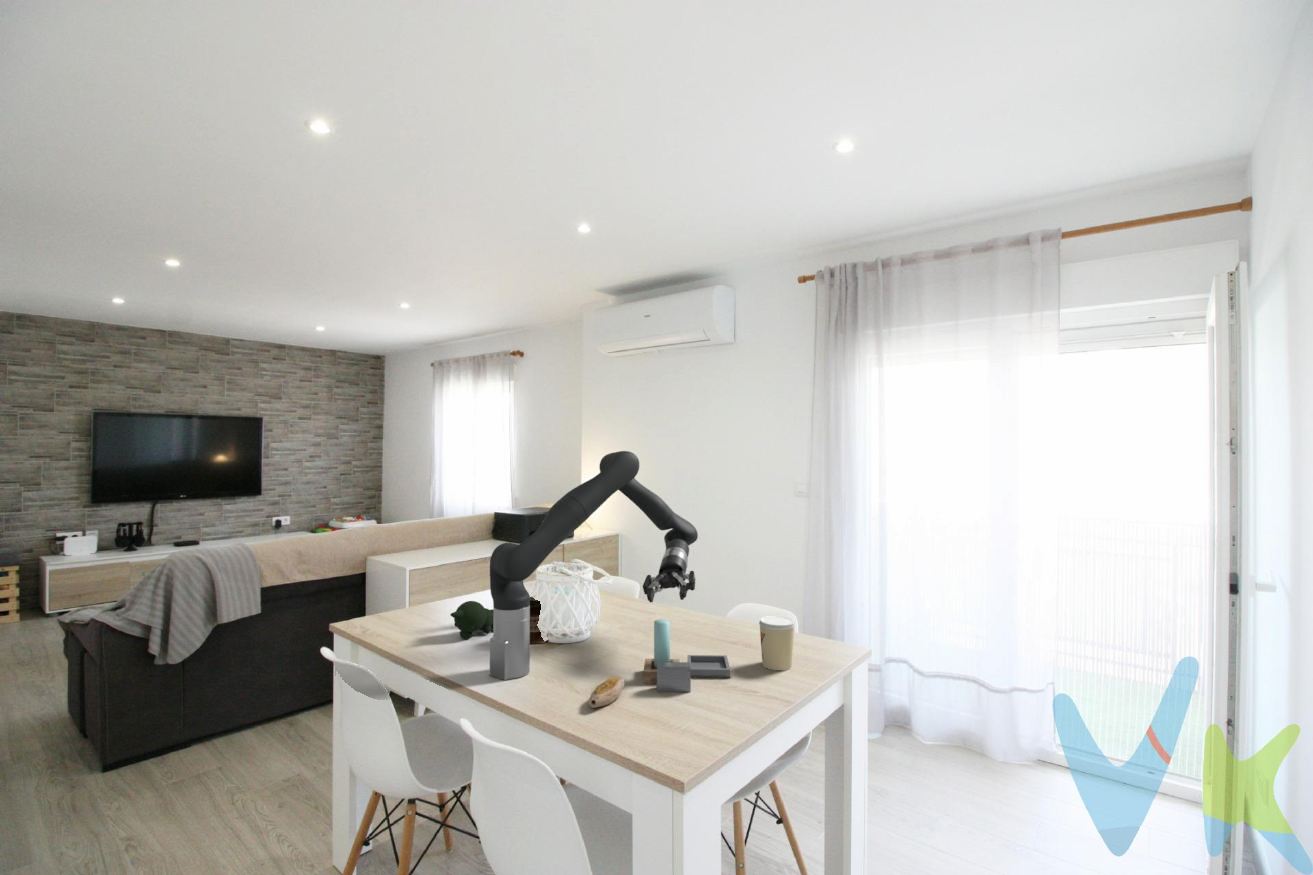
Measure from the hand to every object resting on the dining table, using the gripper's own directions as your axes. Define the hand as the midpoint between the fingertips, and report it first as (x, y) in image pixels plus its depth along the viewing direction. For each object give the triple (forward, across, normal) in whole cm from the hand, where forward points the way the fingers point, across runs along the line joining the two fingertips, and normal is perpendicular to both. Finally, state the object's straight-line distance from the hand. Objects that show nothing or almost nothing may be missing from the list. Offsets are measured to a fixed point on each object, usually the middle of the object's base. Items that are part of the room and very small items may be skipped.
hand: (665, 598), depth 160 cm
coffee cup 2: (0, +26, +24) cm, 35 cm away
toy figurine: (-12, -65, +15) cm, 67 cm away
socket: (+13, -2, +14) cm, 19 cm away
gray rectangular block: (+20, +2, +12) cm, 23 cm away
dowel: (+13, -2, +14) cm, 19 cm away
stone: (+28, -11, +8) cm, 31 cm away
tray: (+7, +9, +18) cm, 21 cm away
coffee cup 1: (-7, -44, +16) cm, 48 cm away
